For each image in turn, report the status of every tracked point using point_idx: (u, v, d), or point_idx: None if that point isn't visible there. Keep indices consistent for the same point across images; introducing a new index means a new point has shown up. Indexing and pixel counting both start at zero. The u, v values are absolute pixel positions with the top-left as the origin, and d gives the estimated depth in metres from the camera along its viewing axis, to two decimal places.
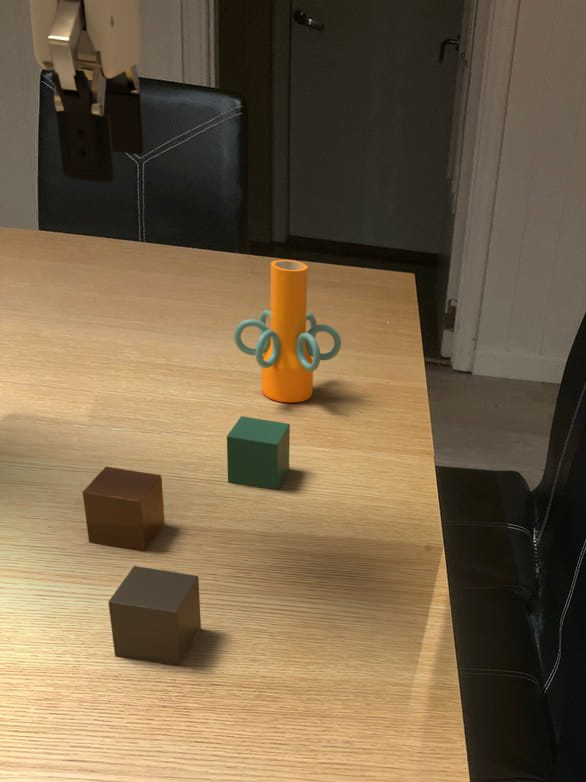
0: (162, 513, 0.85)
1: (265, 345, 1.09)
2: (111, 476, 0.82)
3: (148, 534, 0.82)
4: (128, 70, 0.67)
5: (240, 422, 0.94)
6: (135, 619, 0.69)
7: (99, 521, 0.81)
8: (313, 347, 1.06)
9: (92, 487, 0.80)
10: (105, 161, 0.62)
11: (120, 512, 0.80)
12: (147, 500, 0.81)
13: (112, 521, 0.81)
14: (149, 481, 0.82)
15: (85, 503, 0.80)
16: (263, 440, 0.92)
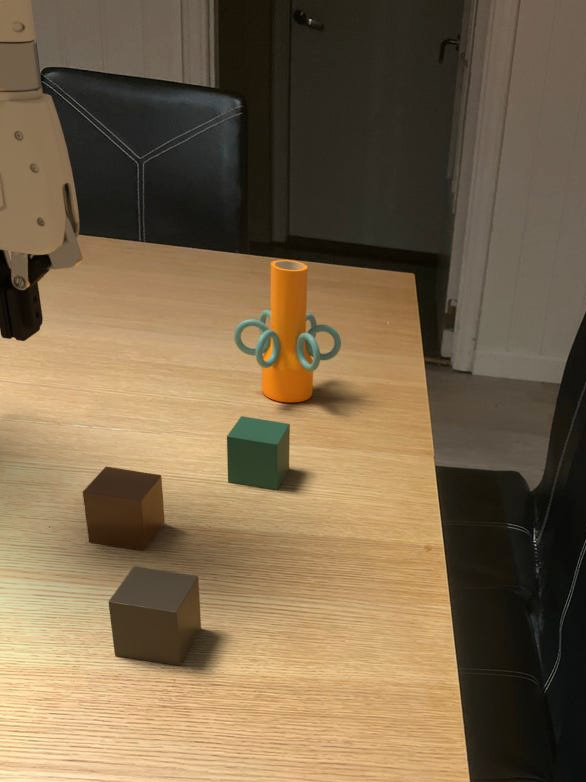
0: (162, 513, 0.85)
1: (265, 345, 1.09)
2: (111, 476, 0.82)
3: (148, 534, 0.82)
4: None
5: (240, 422, 0.94)
6: (135, 619, 0.69)
7: (99, 521, 0.81)
8: (313, 347, 1.06)
9: (92, 487, 0.80)
10: None
11: (120, 512, 0.80)
12: (147, 500, 0.81)
13: (112, 521, 0.81)
14: (149, 481, 0.82)
15: (85, 503, 0.80)
16: (263, 440, 0.92)
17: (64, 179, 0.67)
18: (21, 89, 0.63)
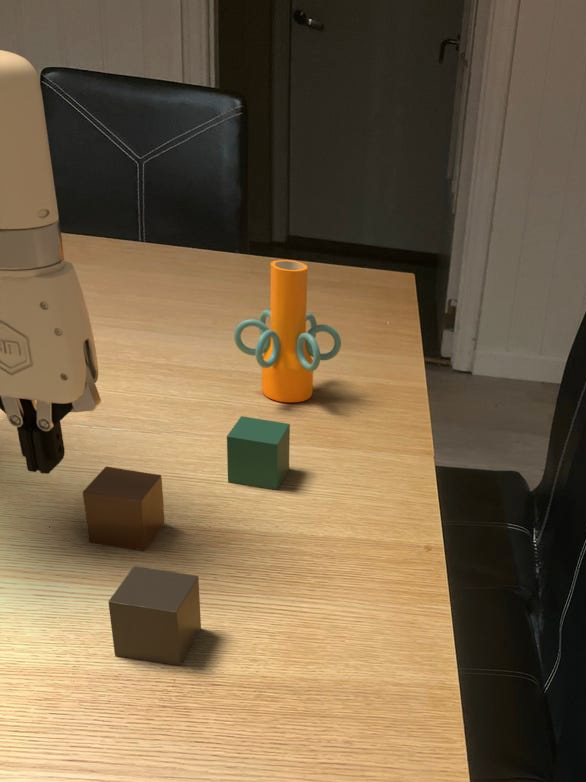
0: (162, 513, 0.85)
1: (265, 345, 1.09)
2: (111, 476, 0.82)
3: (148, 534, 0.82)
4: None
5: (240, 422, 0.94)
6: (135, 619, 0.69)
7: (99, 521, 0.81)
8: (313, 347, 1.06)
9: (92, 487, 0.80)
10: None
11: (120, 512, 0.80)
12: (147, 500, 0.81)
13: (112, 521, 0.81)
14: (149, 481, 0.82)
15: (85, 503, 0.80)
16: (263, 440, 0.92)
17: (84, 337, 0.74)
18: (46, 265, 0.69)
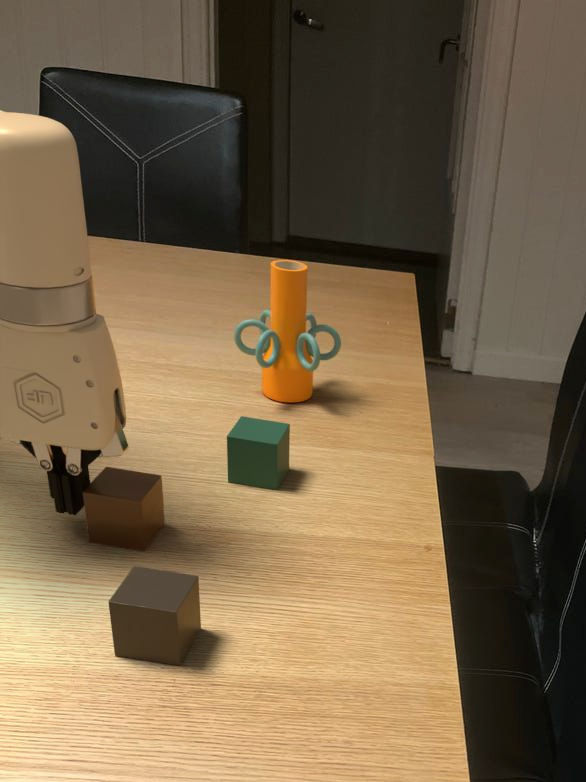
0: (162, 513, 0.85)
1: (265, 345, 1.09)
2: (111, 476, 0.82)
3: (148, 534, 0.82)
4: None
5: (240, 422, 0.94)
6: (135, 619, 0.69)
7: (99, 521, 0.81)
8: (313, 347, 1.06)
9: (93, 487, 0.80)
10: None
11: (120, 512, 0.80)
12: (147, 501, 0.81)
13: (112, 521, 0.81)
14: (149, 481, 0.82)
15: (85, 503, 0.80)
16: (263, 440, 0.92)
17: (114, 387, 0.76)
18: (79, 320, 0.72)
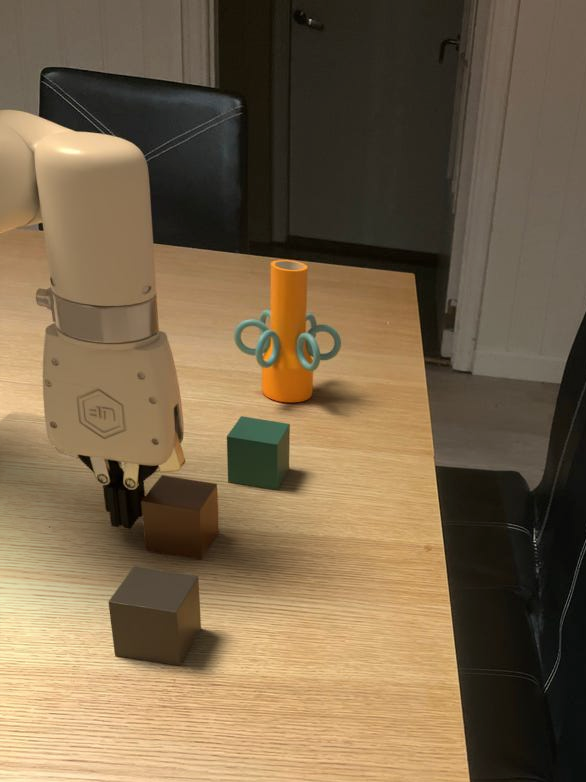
0: (217, 522, 0.85)
1: (265, 345, 1.09)
2: (168, 485, 0.82)
3: (204, 542, 0.83)
4: None
5: (240, 422, 0.94)
6: (135, 619, 0.69)
7: (157, 530, 0.81)
8: (313, 347, 1.06)
9: (151, 496, 0.80)
10: None
11: (178, 521, 0.80)
12: (204, 510, 0.81)
13: (169, 530, 0.81)
14: (206, 490, 0.82)
15: (143, 512, 0.80)
16: (263, 440, 0.92)
17: (174, 403, 0.76)
18: (144, 337, 0.72)
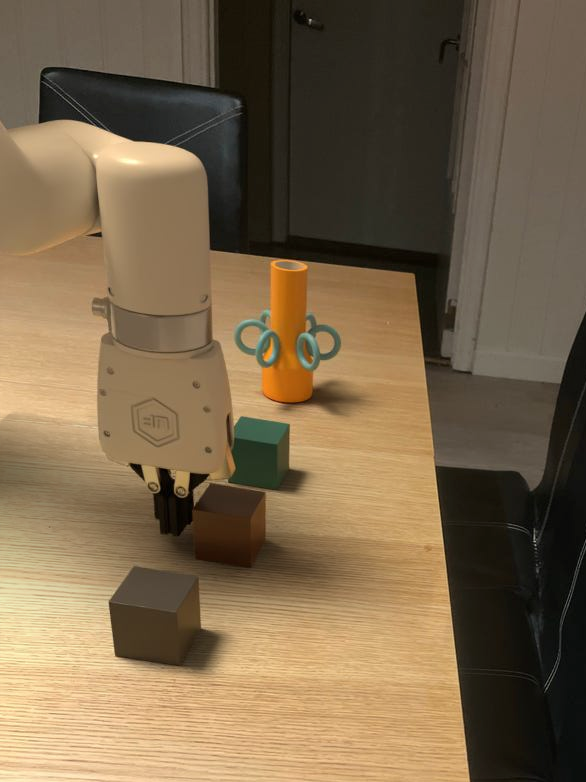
0: (264, 529, 0.86)
1: (265, 345, 1.09)
2: (217, 493, 0.82)
3: (253, 550, 0.83)
4: None
5: (240, 422, 0.94)
6: (135, 619, 0.69)
7: (207, 538, 0.81)
8: (313, 347, 1.06)
9: (201, 505, 0.80)
10: None
11: (229, 529, 0.80)
12: (254, 518, 0.81)
13: (219, 538, 0.81)
14: (255, 498, 0.82)
15: (194, 520, 0.80)
16: (263, 440, 0.92)
17: (227, 411, 0.76)
18: (200, 346, 0.72)
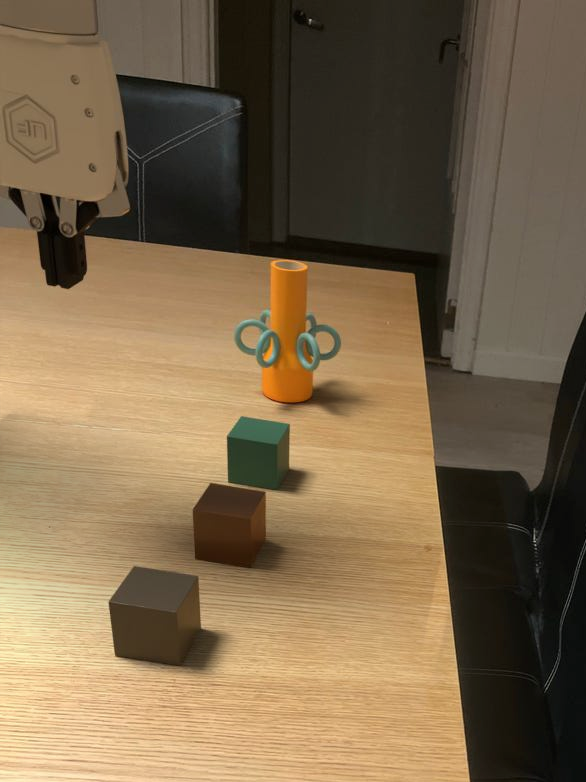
0: (264, 529, 0.85)
1: (265, 345, 1.09)
2: (217, 493, 0.82)
3: (253, 550, 0.83)
4: None
5: (240, 422, 0.94)
6: (135, 619, 0.69)
7: (207, 538, 0.81)
8: (313, 347, 1.06)
9: (201, 505, 0.80)
10: None
11: (229, 529, 0.80)
12: (255, 518, 0.81)
13: (220, 538, 0.81)
14: (255, 498, 0.82)
15: (194, 520, 0.80)
16: (263, 440, 0.92)
17: (116, 127, 0.67)
18: (79, 33, 0.63)
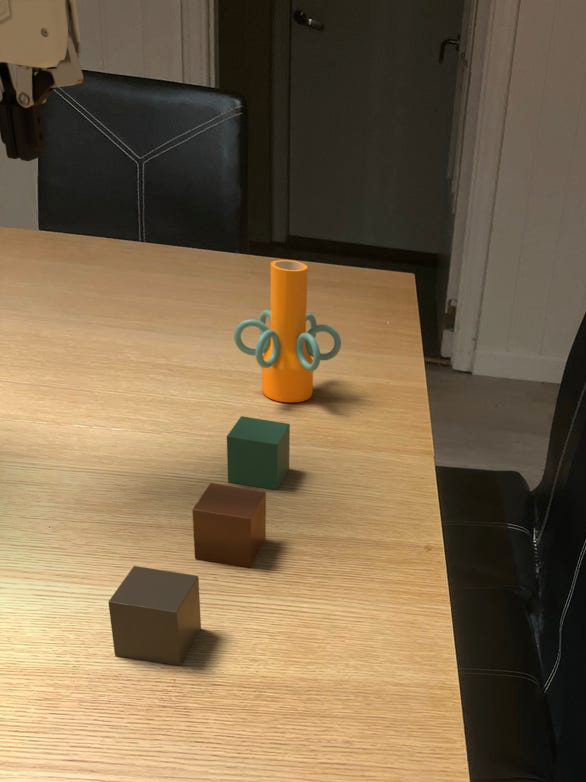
0: (264, 529, 0.85)
1: (265, 345, 1.09)
2: (217, 493, 0.82)
3: (253, 550, 0.83)
4: (10, 64, 0.76)
5: (240, 422, 0.94)
6: (135, 619, 0.69)
7: (207, 538, 0.81)
8: (313, 347, 1.06)
9: (201, 505, 0.80)
10: None
11: (229, 529, 0.80)
12: (254, 517, 0.81)
13: (220, 538, 0.81)
14: (255, 498, 0.82)
15: (194, 520, 0.80)
16: (263, 440, 0.92)
17: None
18: None
